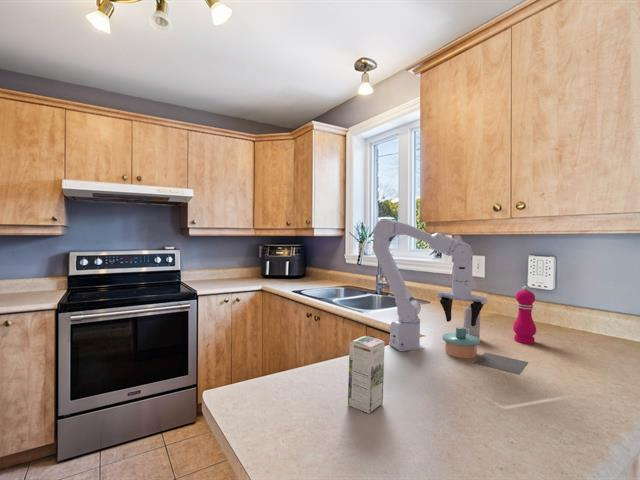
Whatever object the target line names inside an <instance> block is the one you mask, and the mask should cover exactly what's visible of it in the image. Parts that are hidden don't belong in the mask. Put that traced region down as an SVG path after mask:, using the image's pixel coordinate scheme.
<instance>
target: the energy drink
mask: <svg viewBox="0 0 640 480" xmlns="http://www.w3.org/2000/svg"><path fill="white" fill-rule="evenodd" d="M471 317H472V314H471V305H465V306H464V308H463V328H466V334H468V335H472V336H475V337H477V338H479V339H480V336H481V335H480V333H481V331H480V330H481V312H480V313H479V315H478V317H477V321H476V325H475V326H471ZM480 340H481V339H480Z"/></svg>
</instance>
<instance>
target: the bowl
mask: <svg viewBox="0 0 640 480" xmlns="http://www.w3.org/2000/svg"><path fill="white" fill-rule="evenodd" d="M477 348H478V345H476V346H461V345H455V344H451V343H448V342H446V341H444V351H445V353H446V354H447V355H449V356H451V357H455V358H459V359H473V358H476V357H477V355H478V349H477Z"/></svg>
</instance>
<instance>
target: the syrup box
mask: <svg viewBox="0 0 640 480" xmlns="http://www.w3.org/2000/svg"><path fill="white" fill-rule="evenodd" d="M385 343H386V342H385V340H381V339H379V338H376V337H373V336H367V335H363V336H360V337H358V338H356V339H353V340H351V341H349V354H348V355H349V357H348V389H347V393H348V394H347V405H348V406H349V407H351V408H352V409H356V410H358V411H361V412H363V411H364V413H366V412H367V414H369V413H370V414H371V413H373V412H374V411H375V410H377V409H378V408H379V407H380V406H382V405H383V403H384V402H383V401H384V374H385V372H384V371H385Z"/></svg>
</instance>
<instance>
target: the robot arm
mask: <svg viewBox="0 0 640 480" xmlns="http://www.w3.org/2000/svg"><path fill="white" fill-rule="evenodd" d="M405 235H406V236H408V237H411V238H414V239H416V240H419V241H421V242H424V243H427V244H428V246H429V248H430V249H431V250H433V251H436V252H438V253H441V254H443V255H446V256H448V257H450V256H452V257H453V265H452V274H451V275H452V277H451V278H452V279H451V280H452V281H451V292H450V291H438V292H437V298H438V299H440V300H439V302H440V304H441V306H442V309H443V311H444V312H443V313H444V315H445V319H446V322H448V323H449V322H451V321H452V308H453V300H455V301H463V302H470V306H471V314H472V317H471V326H475V325H476V321H477V317H478V315H479V313H480V314H481V310H482V308H483V307H484V305H486V304H487V303H488V296H481V295H476V294H472V288H473V286H472V285H473V284H472V283H473V281H472V279H473V266H472V264H473V261H472V257H473V255H474V253H473V248H472V247H471V245H470V244H468V243H467V242H463V241H461V239H459V238H456V239H455V238H454V237H450V236H448V235H446V233H445V232H441V233H440V232H435V233H433V234H431V233H429V232H426V231H424V230H422V229H420V228H417V227H415V226H413V225H410V224H409V223H405V222H402V221H401V222H400V221H395V220H393V219H388V218H383V219H382V218H381V219H379V220H378V222H377V223H376V224H375V226H374V228H373V238H372V239H373V240H372V250H373V252H374V255H375V257H376V259H377V262H378V264H379V266H380V269H381V270H382V272H383V274H384V276H385V278H386V280H387V283H388V284H389V287H390V290H391V291H392V293H393V296H394V301H395V306H396V308H397V311H396V312H397V313H396V314H397V316H398V319H397V320H395V321H392V322H391V324H390V327H389V342H388V345H390V346H391V347H393V348H394V349H396V350H398V351H399V352H409V351H410V350H413V351H414V350H422V349H426V347H425V346H423V345H422V344H421V343H420V342H421V341H420V339H421V319H420V317H419V314H420V312H421V307H422V306H421V304H420V302H419V301H418V300H417V299H415V298H414V296H413V294H412V293H411V291H410V290H409V289H408V286H407V285H406V282H405V280H404V278H403V276H402V274H401V272H400V270H399V267H398V266H397V264H396V261H395V259H394V258H393V255H392V253H391V251H390V249H389V248H390V246H391V243H392V241H393V240H394V239H395V238H396V236H405Z"/></svg>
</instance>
